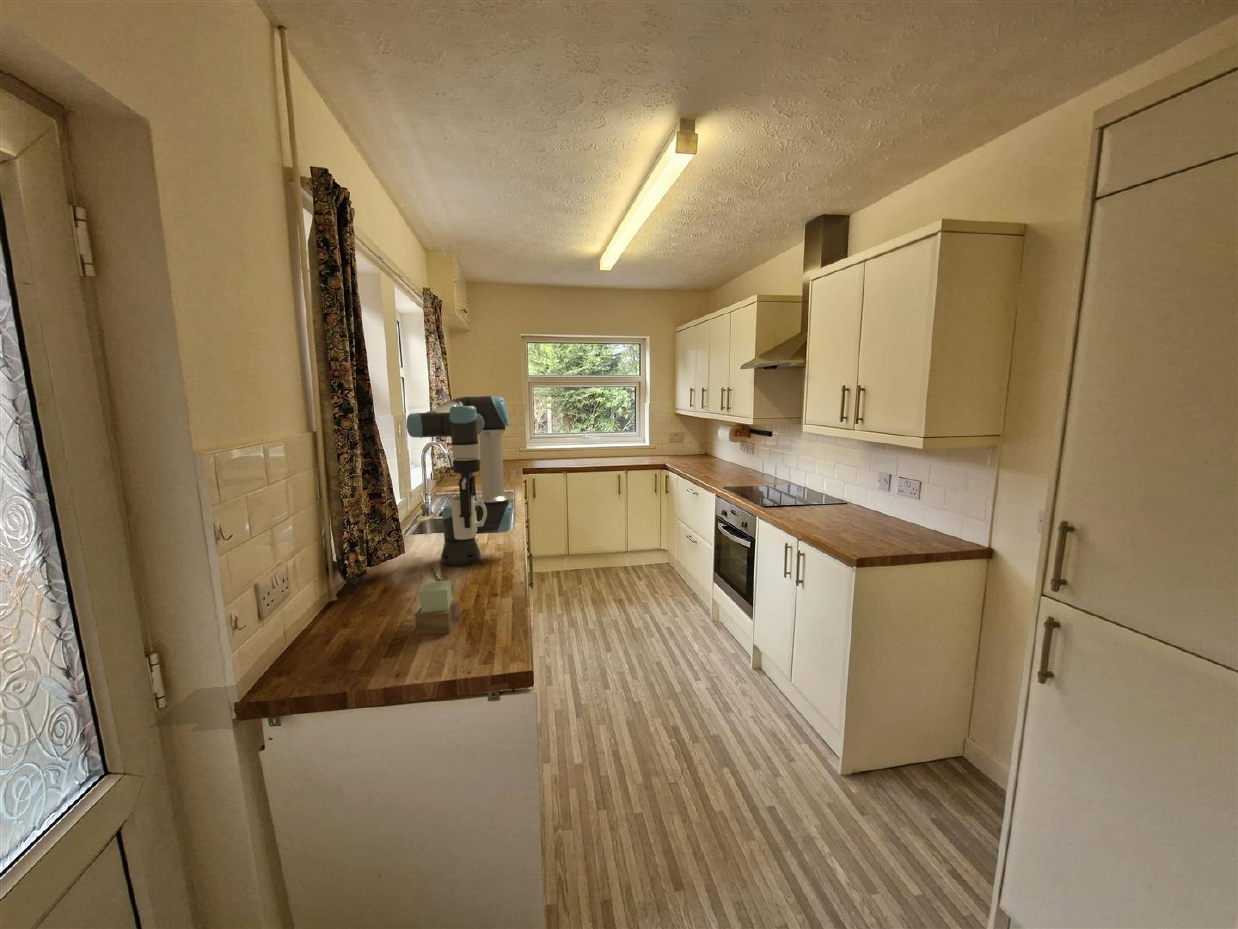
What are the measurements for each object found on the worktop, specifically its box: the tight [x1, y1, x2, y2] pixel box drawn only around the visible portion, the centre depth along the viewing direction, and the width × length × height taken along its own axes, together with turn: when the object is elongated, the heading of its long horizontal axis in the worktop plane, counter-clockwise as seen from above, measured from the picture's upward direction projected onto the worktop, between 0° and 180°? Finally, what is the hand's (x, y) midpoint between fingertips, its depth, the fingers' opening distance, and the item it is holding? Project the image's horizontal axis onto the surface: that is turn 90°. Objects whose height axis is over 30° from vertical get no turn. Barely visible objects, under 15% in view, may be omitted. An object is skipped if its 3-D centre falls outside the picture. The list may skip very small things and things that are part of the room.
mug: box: [450, 495, 487, 539], centre depth 141 cm, size 10×7×12 cm, turn 104°
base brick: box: [414, 599, 461, 635], centre depth 133 cm, size 9×9×6 cm
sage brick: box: [419, 579, 453, 613], centre depth 132 cm, size 7×7×6 cm
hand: (470, 534), depth 142 cm, fingers closed on mug, 6 cm apart
